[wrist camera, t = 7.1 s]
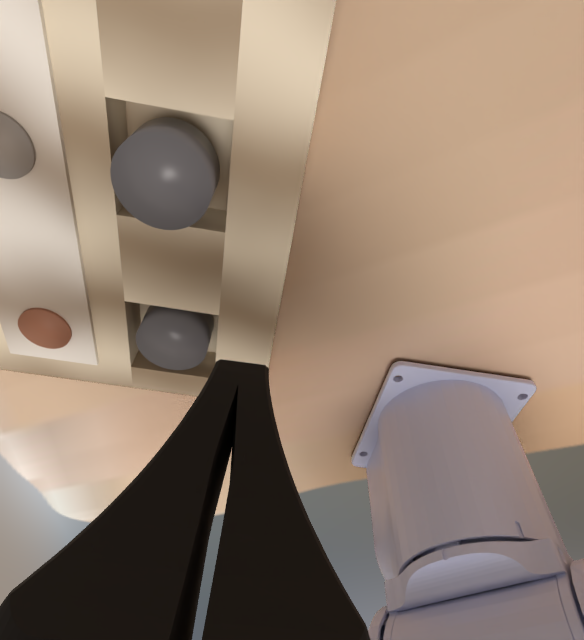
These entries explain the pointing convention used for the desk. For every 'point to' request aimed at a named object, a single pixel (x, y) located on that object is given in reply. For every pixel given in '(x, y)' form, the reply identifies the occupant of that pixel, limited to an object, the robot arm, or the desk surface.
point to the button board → (99, 196)
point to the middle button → (165, 173)
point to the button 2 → (174, 337)
